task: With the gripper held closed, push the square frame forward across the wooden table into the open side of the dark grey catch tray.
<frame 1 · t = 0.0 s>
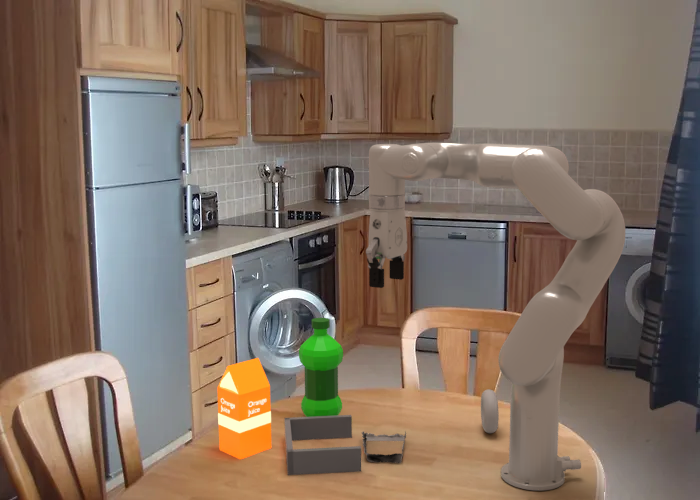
hand: (386, 282, 175), 37 cm above the table, tool pointing down, fingers open, 9 cm apart
plastic bottle: (321, 421, 198), on the table
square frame: (383, 454, 180), on the table
catch tray: (324, 454, 178), on the table
donut: (489, 432, 190), on the table
orange juice: (245, 449, 182), on the table
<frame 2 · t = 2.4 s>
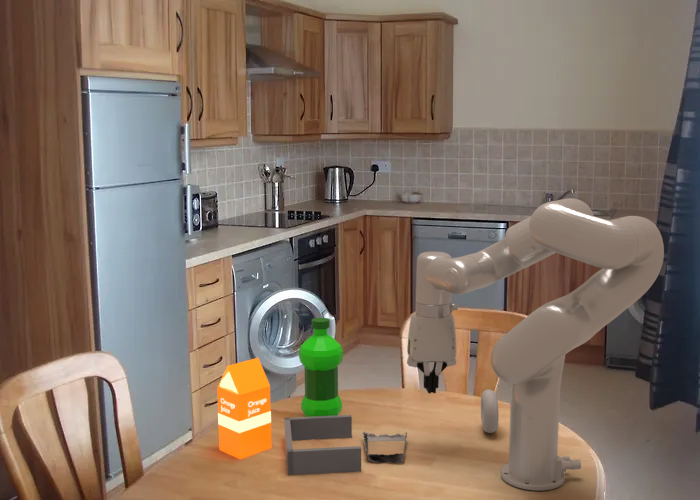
hand: (430, 391, 179), 13 cm above the table, tool pointing down, fingers closed
nothing on the table moved.
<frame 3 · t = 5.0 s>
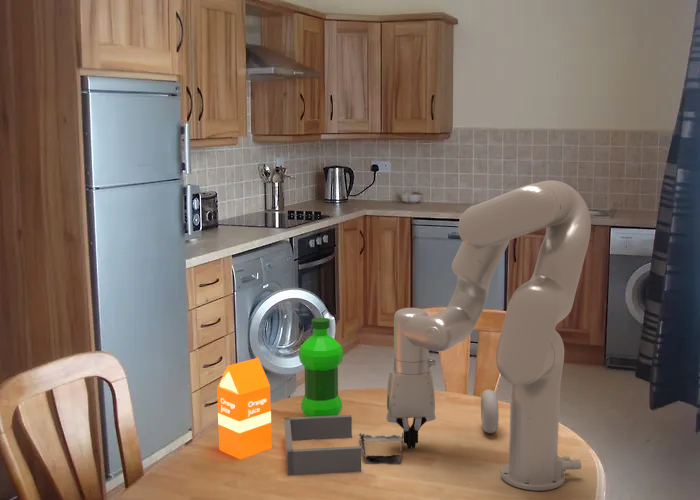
hand: (410, 445, 180), 1 cm above the table, tool pointing down, fingers closed
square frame: (381, 455, 180), on the table, touching gripper
everything else where it was.
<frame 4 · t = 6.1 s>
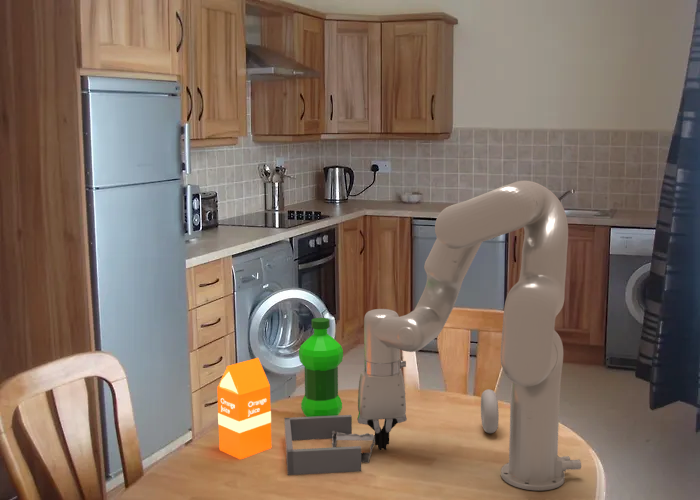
hand: (382, 447, 180), 1 cm above the table, tool pointing down, fingers closed
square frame: (352, 453, 180), on the table
everything else where it was.
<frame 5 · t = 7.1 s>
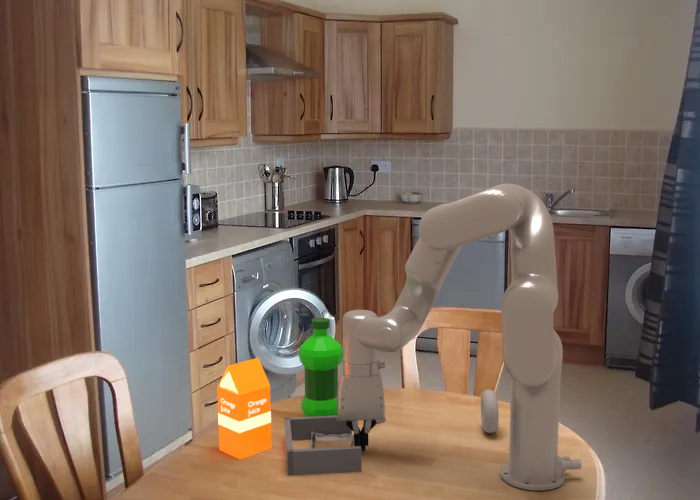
hand: (361, 448, 179), 1 cm above the table, tool pointing down, fingers closed
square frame: (331, 453, 180), on the table, touching gripper
everything else where it was.
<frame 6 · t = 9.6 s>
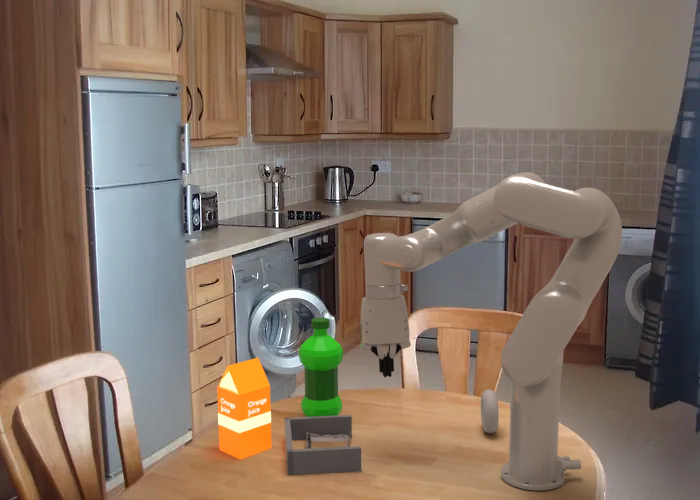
hand: (386, 375, 177), 17 cm above the table, tool pointing down, fingers closed
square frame: (327, 454, 180), on the table
everything else where it was.
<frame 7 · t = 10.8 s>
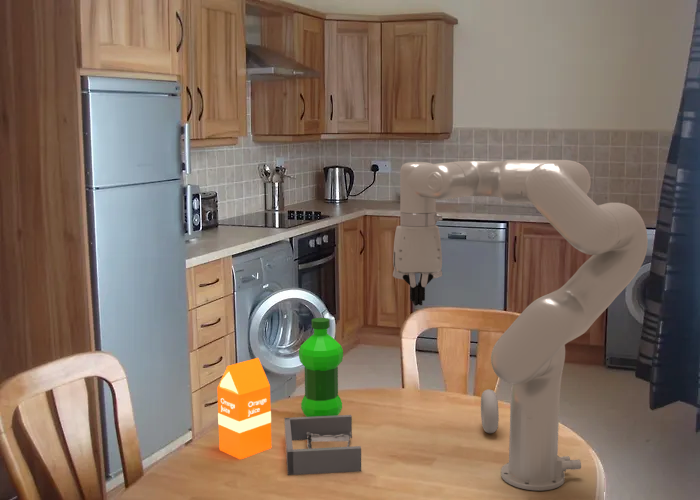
hand: (417, 303, 178), 32 cm above the table, tool pointing down, fingers closed
nothing on the table moved.
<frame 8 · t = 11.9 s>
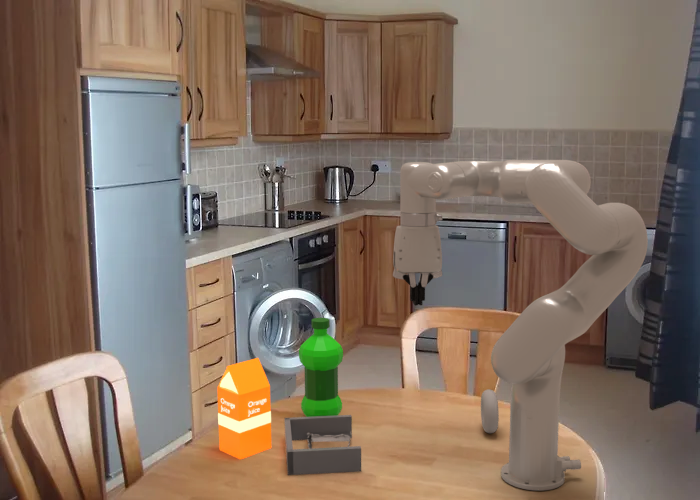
hand: (417, 303, 178), 32 cm above the table, tool pointing down, fingers closed
nothing on the table moved.
at the end: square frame inside the target area on the catch tray (1.6 cm from its centre), point -0.7 cm above the catch tray's base; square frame moved 12.0 cm from its start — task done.
